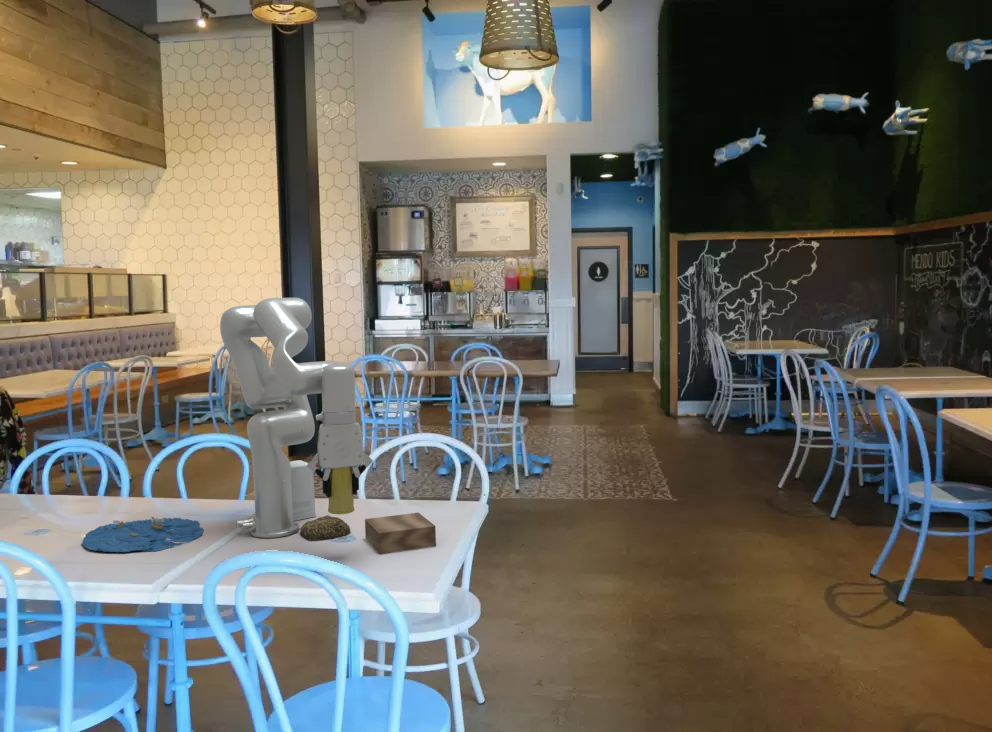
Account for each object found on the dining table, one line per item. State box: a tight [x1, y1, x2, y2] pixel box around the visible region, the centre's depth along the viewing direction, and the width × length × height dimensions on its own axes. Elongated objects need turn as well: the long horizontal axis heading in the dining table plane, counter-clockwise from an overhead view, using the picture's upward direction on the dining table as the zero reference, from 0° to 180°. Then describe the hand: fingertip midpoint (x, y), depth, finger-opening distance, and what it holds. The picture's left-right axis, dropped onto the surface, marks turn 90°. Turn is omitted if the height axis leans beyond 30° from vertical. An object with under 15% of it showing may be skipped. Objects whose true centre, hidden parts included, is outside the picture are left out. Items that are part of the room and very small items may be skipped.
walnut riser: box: [364, 512, 437, 555], centre depth 211 cm, size 14×14×5 cm
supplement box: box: [289, 459, 317, 522], centre depth 238 cm, size 9×9×15 cm
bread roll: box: [299, 514, 351, 542], centre depth 221 cm, size 13×12×5 cm
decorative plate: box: [82, 516, 204, 553], centre depth 222 cm, size 30×30×5 cm
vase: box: [327, 467, 355, 515], centre depth 199 cm, size 6×6×14 cm
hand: (341, 494), depth 200 cm, fingers closed on vase, 5 cm apart
